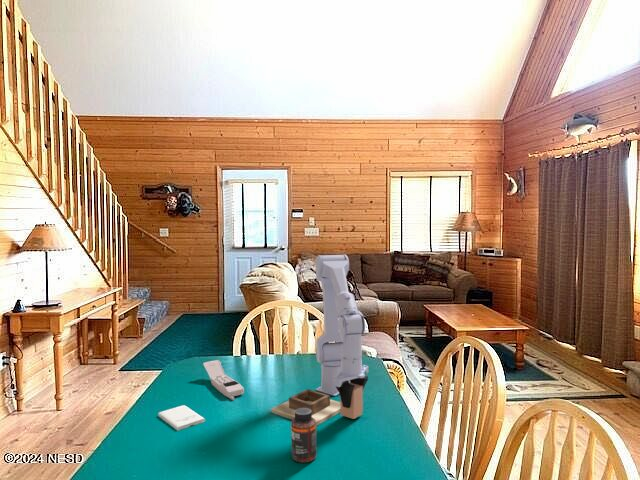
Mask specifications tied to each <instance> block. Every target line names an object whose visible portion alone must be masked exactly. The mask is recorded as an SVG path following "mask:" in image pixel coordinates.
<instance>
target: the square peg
mask: <svg viewBox="0 0 640 480" xmlns="http://www.w3.org/2000/svg"><path fill="white" fill-rule="evenodd" d="M349 383H350V384H351V385H355V387H354V389H353V392H352V397H351V406H350V408H346V407H343V405H342V401H341V397H340V396H339V397H340V398H339V399H340V401H339V402H341V412H340V416H342V417H346V418H348V419H349V418H350V419H352V420H354V419H356V418H359V417H360V416H361V415H363V413H364V408H363V407H364V406H363V405H364V401H363V399H364V396H363V395H364V394H363V393H364V389H363V386H361V385H357V384H353V383H351V382H349Z"/></svg>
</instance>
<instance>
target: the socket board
mask: <svg viewBox="0 0 640 480" xmlns="http://www.w3.org/2000/svg"><path fill="white" fill-rule="evenodd" d="M299 408H309V409H311V411H312V418H314V419H315V421H316V427H317V426H319V425H320V424H322V423H324V422H326V421H328V420H329V419H331V418H332V417H334V416H336V415H338V414H341V401H337V400H334V399H331V395H330V394H326V393H323V392H320V391H316V390H313V389H309V388H307V389H305V390H302V391H300V392H298V393H296V394H294V395H292V396H290V397H288V400H287V401H284V402H282V403H280V404H279V405H276V406H274V407H272V408H270V413H272V414H275V415H278V416H281V417H283V418H287V419H289V420H291V421H292V420H293V419H294V418H295V410H297V409H299Z"/></svg>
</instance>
